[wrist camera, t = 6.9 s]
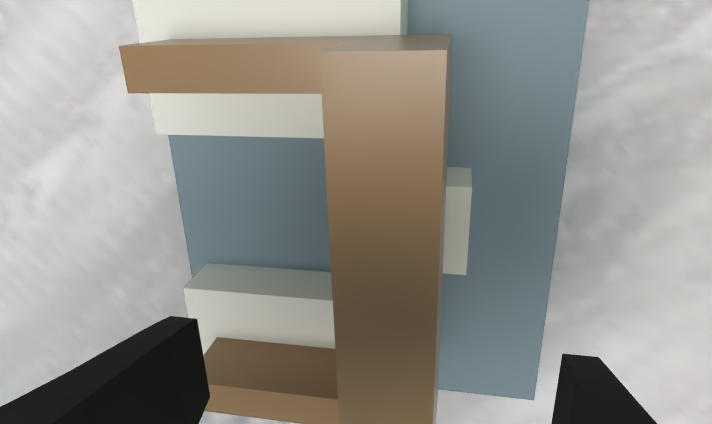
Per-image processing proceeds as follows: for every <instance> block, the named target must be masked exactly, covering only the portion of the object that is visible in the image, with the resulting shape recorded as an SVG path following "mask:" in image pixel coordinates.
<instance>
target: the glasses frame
mask: <svg viewBox="0 0 712 424" xmlns="http://www.w3.org/2000/svg"><path fill="white" fill-rule="evenodd" d="M119 49H120V55H121V60H122V65H123V70H124V75H125V80H126V85H127V90H128V93H221V94H322V110H323V129H324V147H325V166H326V185H327V204H328V222H329V241H330V260H331V279H332V297H333V316H334V335H335V349H331V348H321V347H311V346H301V345H291V344H281V343H271V342H261V341H251V340H241V339H231V338H221V337H217V338H216V339H215V340H214V342H213V343H212V344H211V346H210V347H209V348H208V350H207V351H206V353H205V354H204V355H203V356H204V362H205V368H206V374H207V380H208V386H209V392H210V399H209V401H208V403H207V405H206V408H205V410H204V411H208V412H216V413H224V414H231V415H239V416H247V417H254V418H262V419H270V420H278V421H285V422H293V423H301V424H436V411H437V396H438V377H439V353H440V328H441V304H442V279H443V255H444V230H445V206H446V181H447V157H448V132H449V108H450V83H451V58H452V34H425V35H372V36H320V37H267V38H215V39H169V40H161V41H153V42H146V43H138V44H130V45H123V46H119Z"/></svg>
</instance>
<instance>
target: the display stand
mask: <svg viewBox="0 0 712 424" xmlns="http://www.w3.org/2000/svg"><path fill="white" fill-rule="evenodd" d="M132 1H133V7H134V13H135V18H136V24H137V30H138V35H139V41H140V43H146V42H153V41H161V40H169V39H215V38H267V37H320V36H372V35H425V34H452V58H451V83H450V108H449V132H448V157H447V181H446V206H445V230H444V255H443V279H442V304H441V328H440V353H439V377H438V389H440V390H449V391H458V392H467V393H475V394H484V395H493V396H502V397H510V398H519V399H528V400H534V396H535V389H536V382H537V374H538V367H539V360H540V353H541V345H542V338H543V331H544V324H545V316H546V309H547V302H548V295H549V287H550V280H551V273H552V266H553V258H554V251H555V244H556V236H557V229H558V222H559V215H560V207H561V200H562V193H563V186H564V178H565V171H566V164H567V157H568V149H569V142H570V135H571V127H572V120H573V113H574V106H575V98H576V91H577V84H578V77H579V69H580V62H581V55H582V48H583V40H584V33H585V26H586V18H587V11H588V4H589V0H132ZM149 98H150V103H151V109H152V115H153V120H154V126H155V132H156V134H164V135H169V141H170V147H171V153H172V159H173V165H174V171H175V177H176V183H177V189H178V195H179V201H180V207H181V213H182V219H183V225H184V231H185V237H186V243H187V249H188V255H189V261H190V267H191V273H192V279H191V280H190V282H189V283H188V284H187V285H186V286H185V287H184V288H183V290H184V296H185V302H186V307H187V313H188V318H194V319H197V321H198V327H199V333H200V339H201V345H202V351H203V355H204V354H205V353H206V351H207V350H208V348H209V347H210V346H211V344H212V343H213V342H214V340H215V339H216V338H217V337H221V338H231V339H241V340H251V341H261V342H271V343H281V344H291V345H301V346H311V347H321V348H331V349H335V335H334V316H333V297H332V279H331V260H330V241H329V222H328V204H327V185H326V166H325V147H324V129H323V110H322V94H221V93H149Z"/></svg>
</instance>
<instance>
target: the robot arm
mask: <svg viewBox="0 0 712 424" xmlns="http://www.w3.org/2000/svg"><path fill="white" fill-rule="evenodd" d="M209 399H210V392H209V386H208V380H207V374H206V368H205V362H204V356H203V351H202V345H201V339H200V333H199V327H198V321H197V319H194V318H184V317H174V316H170V317H168V318H166V319H164V320H161V321H159V322H157V323H155V324H153V325H152V326H150V327H148V328H146V329H144V330H142V331H140V332H139V333H137V334H135V335H133V336H131V337H130V338H128V339H126V340H124V341H122V342H121V343H119V344H117V345H115V346H114V347H112V348H110V349H108V350H107V351H105V352H103V353H101V354H99V355H98V356H96V357H94V358H92V359H90V360H89V361H87V362H85V363H83V364H82V365H80V366H78V367H76V368H74V369H73V370H71V371H69V372H67V373H65V374H63V375H61V376H59V377H57V378H56V379H54V380H52V381H50V382H48V383H46V384H44V385H42V386H40V387H38V388H36V389H34V390H32V391H31V392H29V393H27V394H25V395H23V396H21V397H19V398H17V399H15V400H13V401H11V402H9V403H7V404H5V405H3V406H1V407H0V424H199V422H200V419H201V417H202V415H203V412H204V410H205V408H206V405H207V403H208V401H209ZM552 424H657V423H656V422H655V421H654V420H653V419H652V417H651V416H650V415H649V414H648V413H647V412H646V411H645V410H644V408H643V407H642V406H641V405H640V404H639V403H638V402H637V401H636V399H635V398H634V397H633V396H632V395H631V394H630V393H629V391H628V390H627V389H626V388H625V387H624V386H623V384H622V383H621V382H620V381H619V380H618V379H617V378H616V376H615V375H614V374H613V373H612V372H611V371H610V370H609V368H608V367H607V366H606V365H605V364H604V363H603V362H602V361H601V359H600V358H599V357H591V356H581V355H570V354H562V360H561V367H560V373H559V380H558V386H557V392H556V399H555V405H554V412H553V418H552Z"/></svg>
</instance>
